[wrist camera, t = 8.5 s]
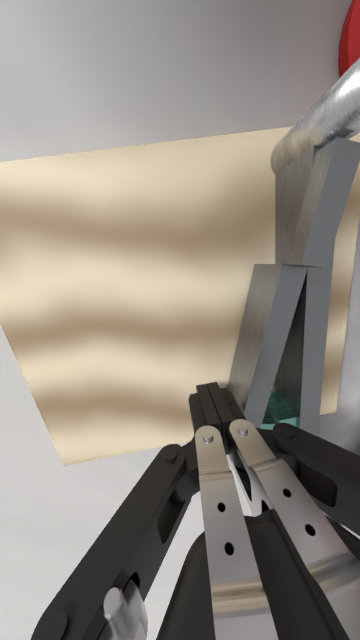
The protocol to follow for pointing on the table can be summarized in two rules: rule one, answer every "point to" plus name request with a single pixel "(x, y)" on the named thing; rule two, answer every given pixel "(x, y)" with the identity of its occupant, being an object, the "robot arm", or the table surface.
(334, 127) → the tongs fixed
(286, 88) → the table surface
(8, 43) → the table surface
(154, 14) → the table surface
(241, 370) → the tong arm
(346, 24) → the canned food
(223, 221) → the board
